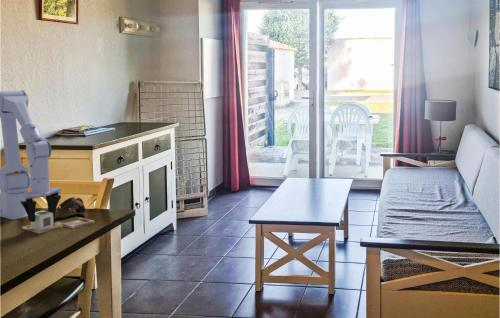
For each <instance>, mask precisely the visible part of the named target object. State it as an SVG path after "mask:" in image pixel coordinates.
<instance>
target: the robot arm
mask: <svg viewBox="0 0 500 318" xmlns="http://www.w3.org/2000/svg"><path fill="white" fill-rule="evenodd" d="M29 101H30V100H29V95H28V93H27V92H26V91H25V90H24V89H23V90H7V91H6V90H5V91H4V90H2V91H1V90H0V123H1V133H2V142H3V150H4V151H3V152H4V161H5V164H4V165H3V166H2V167H0V191H1V192H0V217H1V218H6V219H8V220H17V219H22V218H27V219H28V221H29V222H30V223H31V222H35V212H36V208H37V207H36V206H37V201H36V200H35V201H34V199H39V198H44V197H45V199H46V203H47V204H46V205H47V212H52V213H53V218H55V215H56V211H57V207H58V204H59V202H60V200H61V198H62V197H61V195H60V194H62V188H61V187H57V186H56V187H50V185H51V184H50V169H49V168H50V167H49V164H50V163H49V158H50V157H51V155H52V146H51V143H50V141H49V140H48V139H46V138H45V137H43V135H42V133H41V130H40V128H39V126H38V125H37V124H36V123H35V122H32V118H31V116H30V113H29V110H28V107H29ZM17 122H18V124H19V126H20V129H19V133H20V135H21V137H22V140H23V141H24V143H25V146H26V147H25V154H26V157H27V163H28V165H29V168H28V167H27V166H26V165H24V164H23V163H22V162H21V153H20V145H19V136H18V135H19V133H18V125H17ZM29 189H30V191H29Z"/></svg>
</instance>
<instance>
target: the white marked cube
mask: <svg viewBox="0 0 500 318" xmlns="http://www.w3.org/2000/svg"><path fill="white" fill-rule="evenodd" d="M53 223H54V217H53V213H52V212H48V210H40V211H35V222H31V221H30V225H31V229H35V230H39V231H40V230H44V229H48V228H52V227H54V226H53Z"/></svg>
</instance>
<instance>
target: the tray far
mask: <svg viewBox="0 0 500 318" xmlns="http://www.w3.org/2000/svg"><path fill="white" fill-rule="evenodd" d="M54 223H55V224H60V225H62V227H64V228H68V229H73V230H74V229H77V228H80V227H85V226H88V225H91V224H94V223H95V220H91V219H89V218H84V217H79V216H74V217H70V218H66V219H63V220H58V221H54Z"/></svg>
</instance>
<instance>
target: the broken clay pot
mask: <svg viewBox="0 0 500 318" xmlns="http://www.w3.org/2000/svg"><path fill="white" fill-rule="evenodd" d="M70 210H74V211H75V212H76V213H77V214H78V213H79V214H81V213H82V216H83V218H84V219H88V217H89V214H88V212H87V209H86V206H85V204H84V200H83V199H82V198H80V197H76V198H75V197H74V196H73V197H69V198H67V199H64V201H63V202H61V203H60V204H59V206H57V207H56V211H57V216H59V218H62V217H63V216H64V215H70Z"/></svg>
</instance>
